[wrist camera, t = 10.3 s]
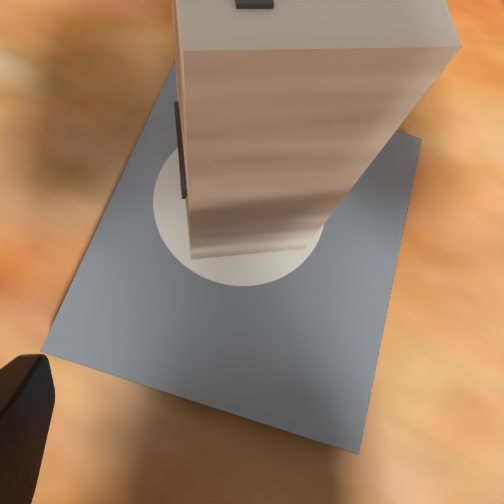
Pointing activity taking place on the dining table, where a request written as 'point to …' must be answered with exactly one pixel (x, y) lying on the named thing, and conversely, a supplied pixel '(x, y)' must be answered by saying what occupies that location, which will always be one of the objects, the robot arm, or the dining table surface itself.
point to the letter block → (292, 108)
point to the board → (240, 297)
